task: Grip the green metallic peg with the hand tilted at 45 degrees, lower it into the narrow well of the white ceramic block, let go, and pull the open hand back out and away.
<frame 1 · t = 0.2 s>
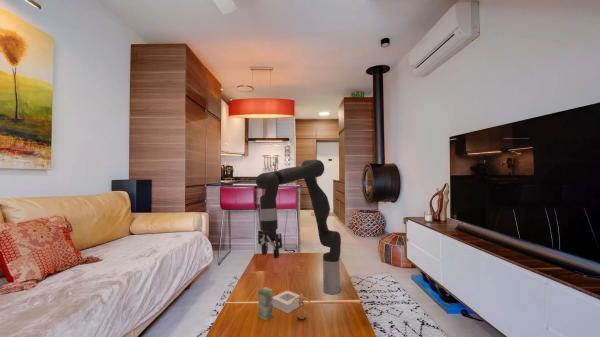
hand: (270, 256, 112), 29 cm above the table, tool pointing down, fingers open, 8 cm apart
figurine: (301, 320, 115), on the table
green metallic peg: (265, 316, 117), on the table
white well block: (287, 305, 128), on the table
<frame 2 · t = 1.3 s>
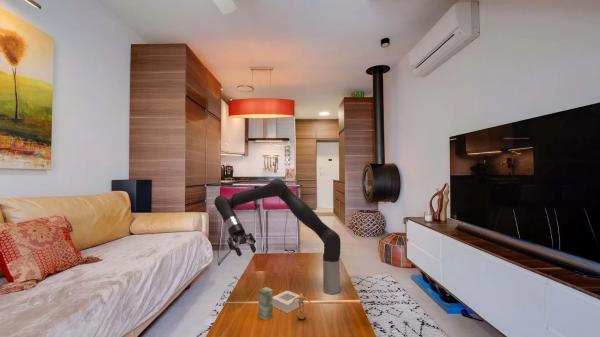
hand: (247, 253, 127), 26 cm above the table, tool tilted 45°, fingers open, 8 cm apart
nothing on the table moved.
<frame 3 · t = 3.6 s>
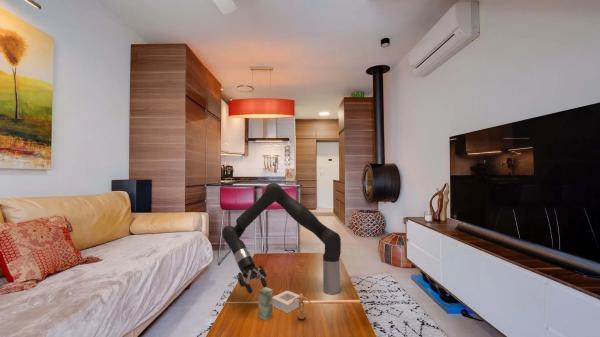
hand: (258, 289, 121), 11 cm above the table, tool tilted 45°, fingers open, 8 cm apart
nothing on the table moved.
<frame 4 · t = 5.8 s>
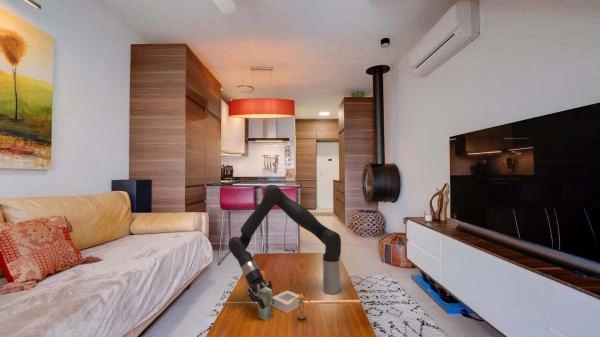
hand: (268, 306, 116), 5 cm above the table, tool tilted 45°, fingers closed on green metallic peg, 4 cm apart
green metallic peg: (265, 316, 117), on the table, touching gripper
everything else where it was.
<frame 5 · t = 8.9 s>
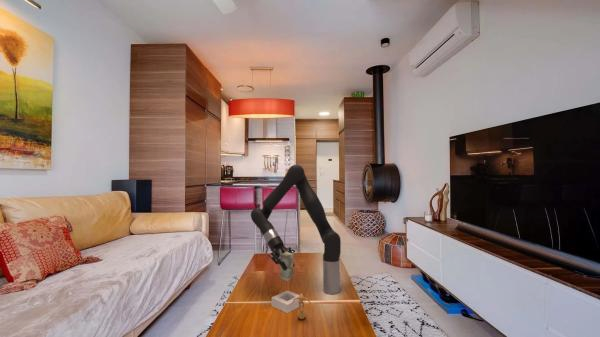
hand: (289, 268, 127), 19 cm above the table, tool tilted 45°, fingers closed on green metallic peg, 4 cm apart
green metallic peg: (286, 278, 128), point 13 cm above the table, touching gripper
everything else where it was.
when the fingers open (7 cm above the table, at t = 11.9 s): green metallic peg drops 1 cm, resting in white well block.
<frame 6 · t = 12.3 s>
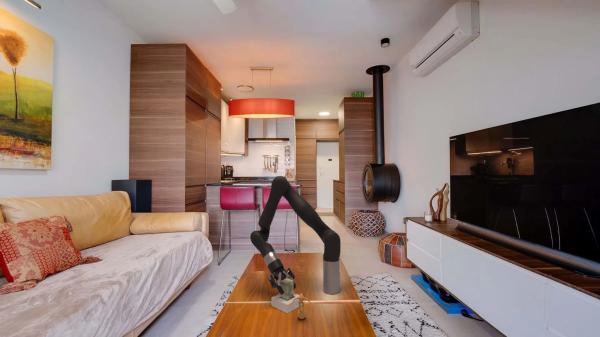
hand: (289, 291, 127), 7 cm above the table, tool tilted 45°, fingers open, 8 cm apart
green metallic peg: (287, 305, 128), resting in white well block
everything else where it was.
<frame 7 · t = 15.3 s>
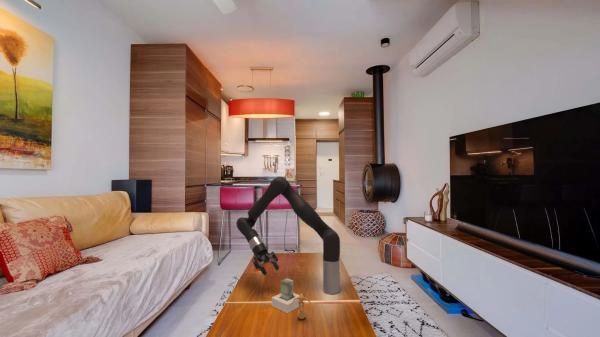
hand: (271, 272, 136), 14 cm above the table, tool tilted 45°, fingers open, 8 cm apart
nothing on the table moved.
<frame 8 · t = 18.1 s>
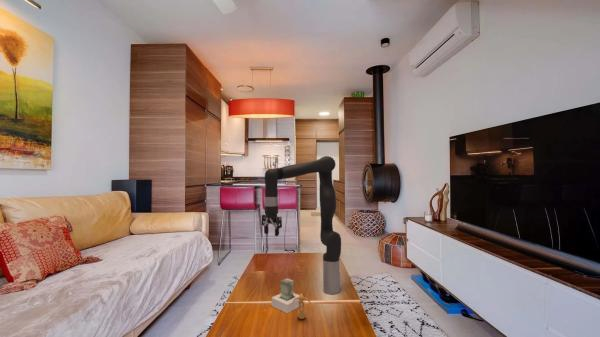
hand: (271, 234, 141), 32 cm above the table, tool pointing down, fingers open, 8 cm apart
nothing on the table moved.
at the end: green metallic peg 0.1 cm off-centre on the white well block, point 0.0 cm above the white well block's base; green metallic peg tilted 0°; the gripper is holding nothing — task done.
